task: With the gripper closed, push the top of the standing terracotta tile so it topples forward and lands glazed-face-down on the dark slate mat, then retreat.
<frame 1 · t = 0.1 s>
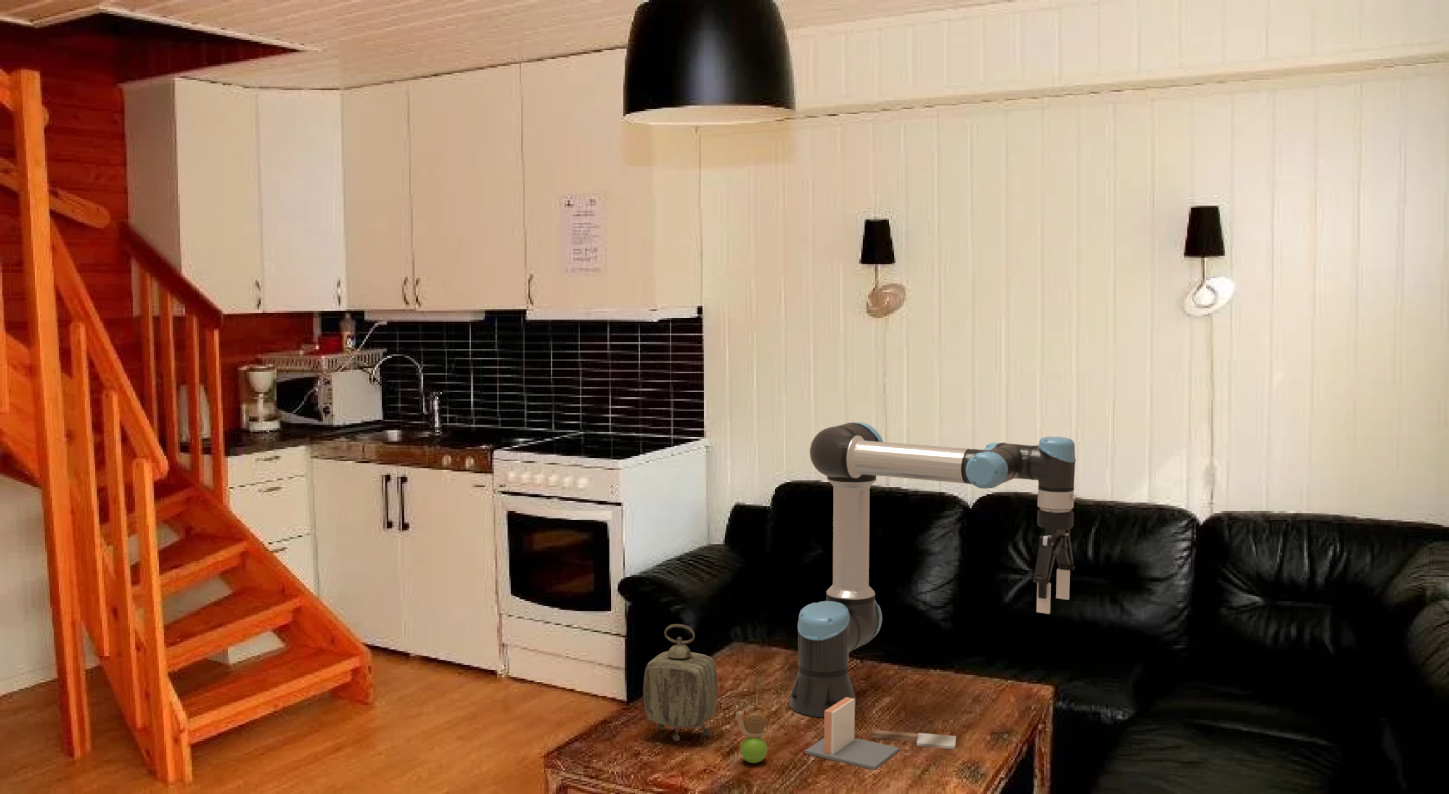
hand: (1053, 605, 262), 28 cm above the table, fingers open, 13 cm apart
tile: (839, 746, 254), point 1 cm above the table, touching mat
snail figurine: (751, 763, 247), on the table
turner: (912, 740, 259), on the table
tabletop clock: (679, 739, 260), on the table
mat: (852, 752, 252), on the table
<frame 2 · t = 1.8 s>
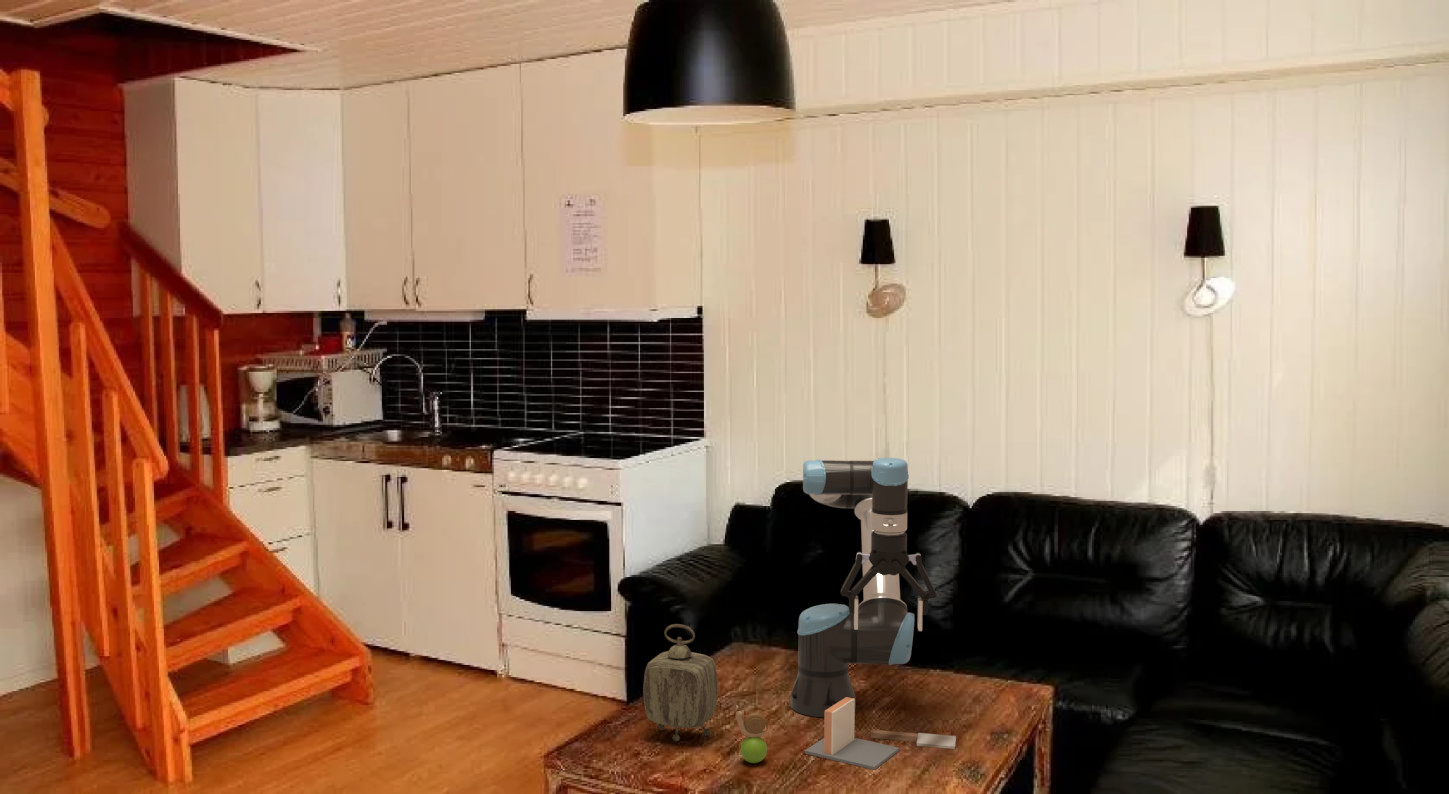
hand: (887, 628, 258), 24 cm above the table, fingers open, 13 cm apart
nothing on the table moved.
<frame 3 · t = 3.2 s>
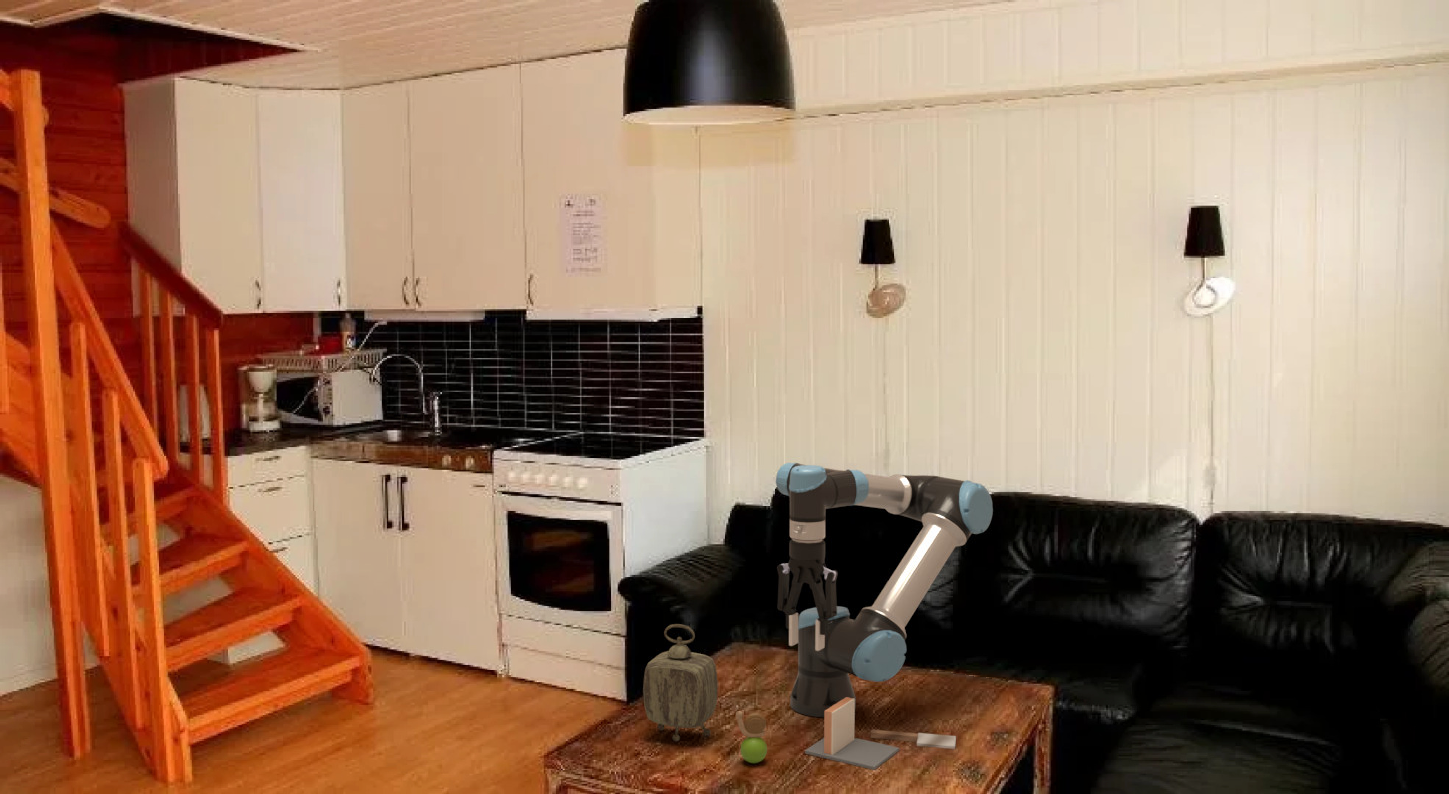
hand: (806, 646, 256), 21 cm above the table, fingers open, 6 cm apart
nothing on the table moved.
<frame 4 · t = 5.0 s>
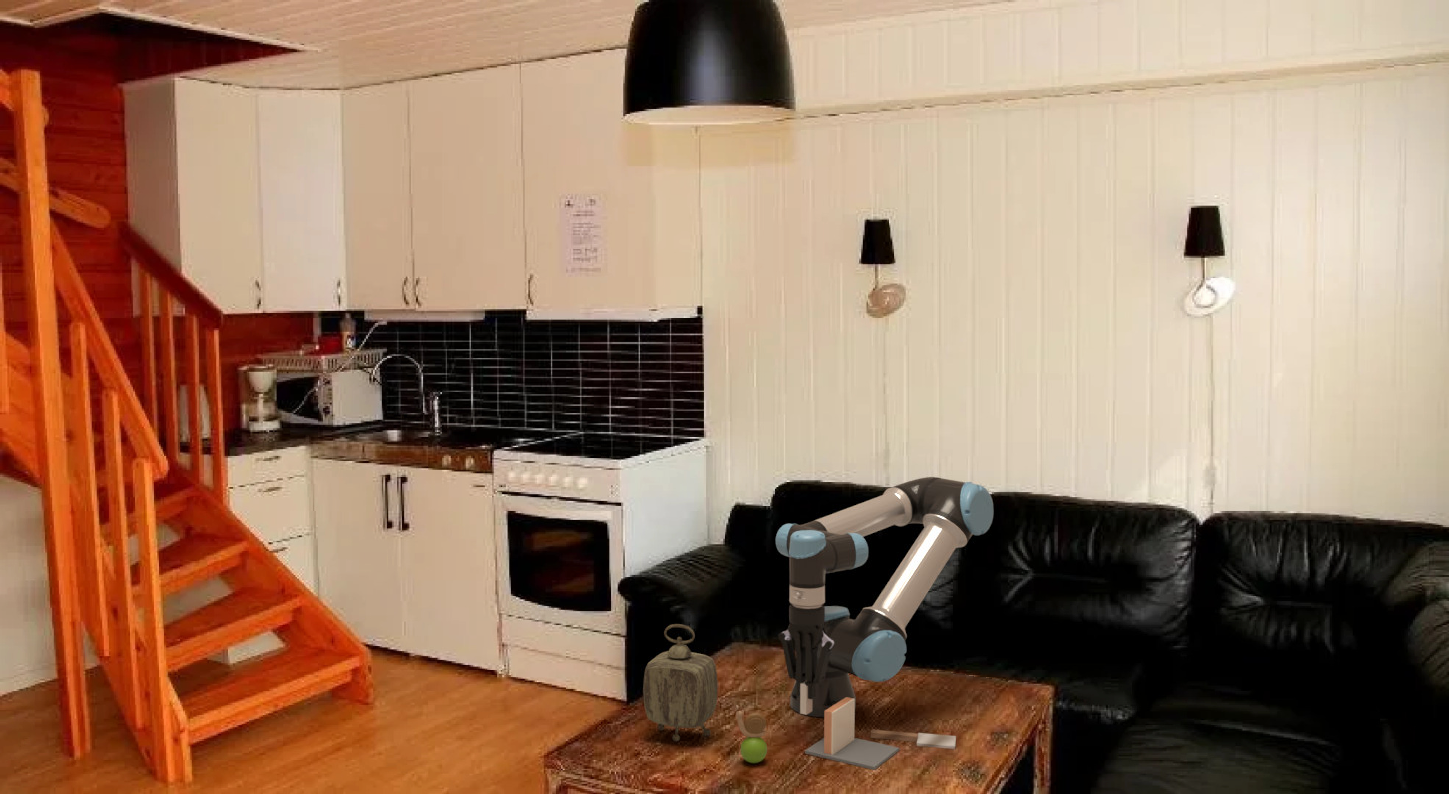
hand: (806, 712, 257), 6 cm above the table, fingers closed
nothing on the table moved.
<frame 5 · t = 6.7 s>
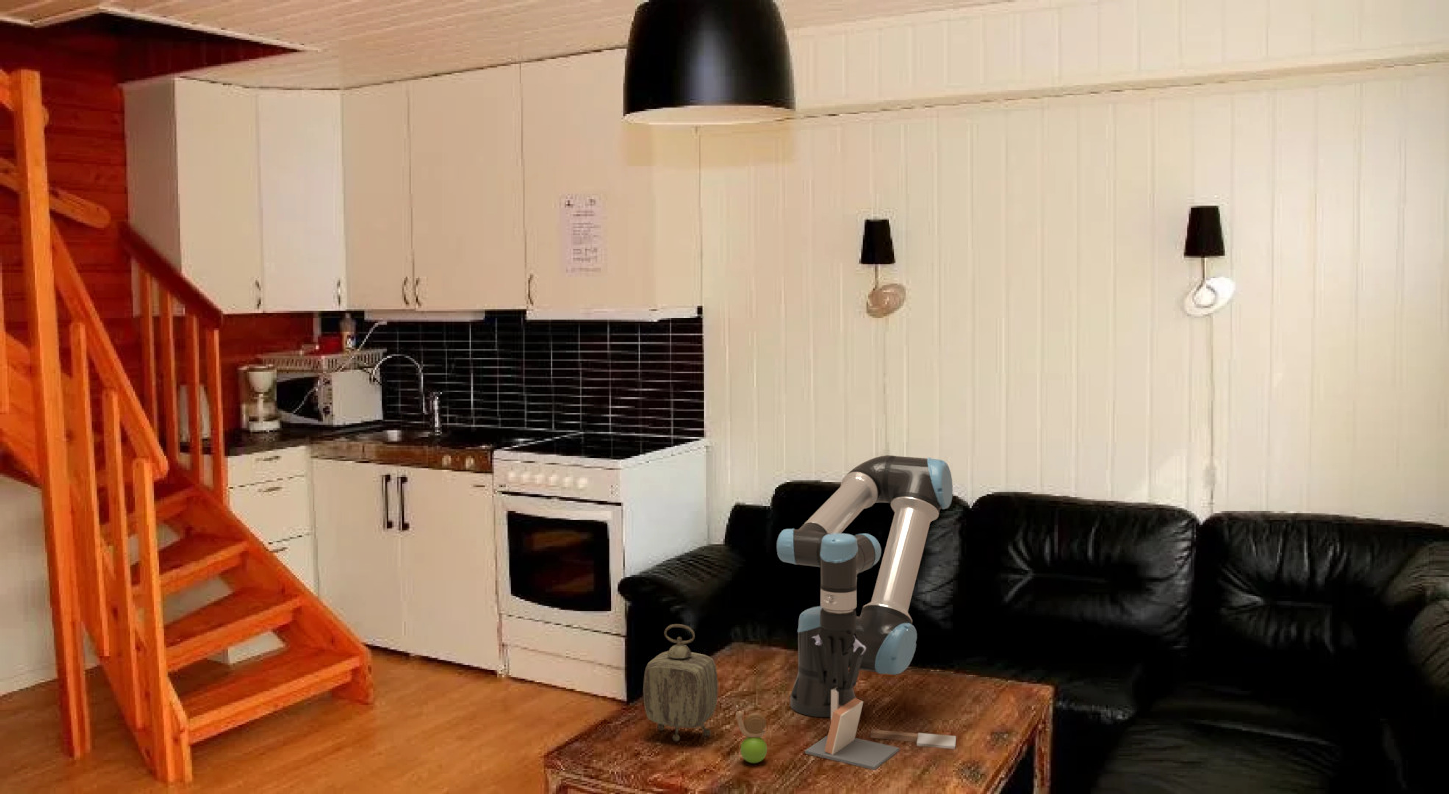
hand: (836, 718, 253), 7 cm above the table, fingers closed
tile: (839, 745, 254), point 1 cm above the table, tilted 13°, touching mat
everything else where it was.
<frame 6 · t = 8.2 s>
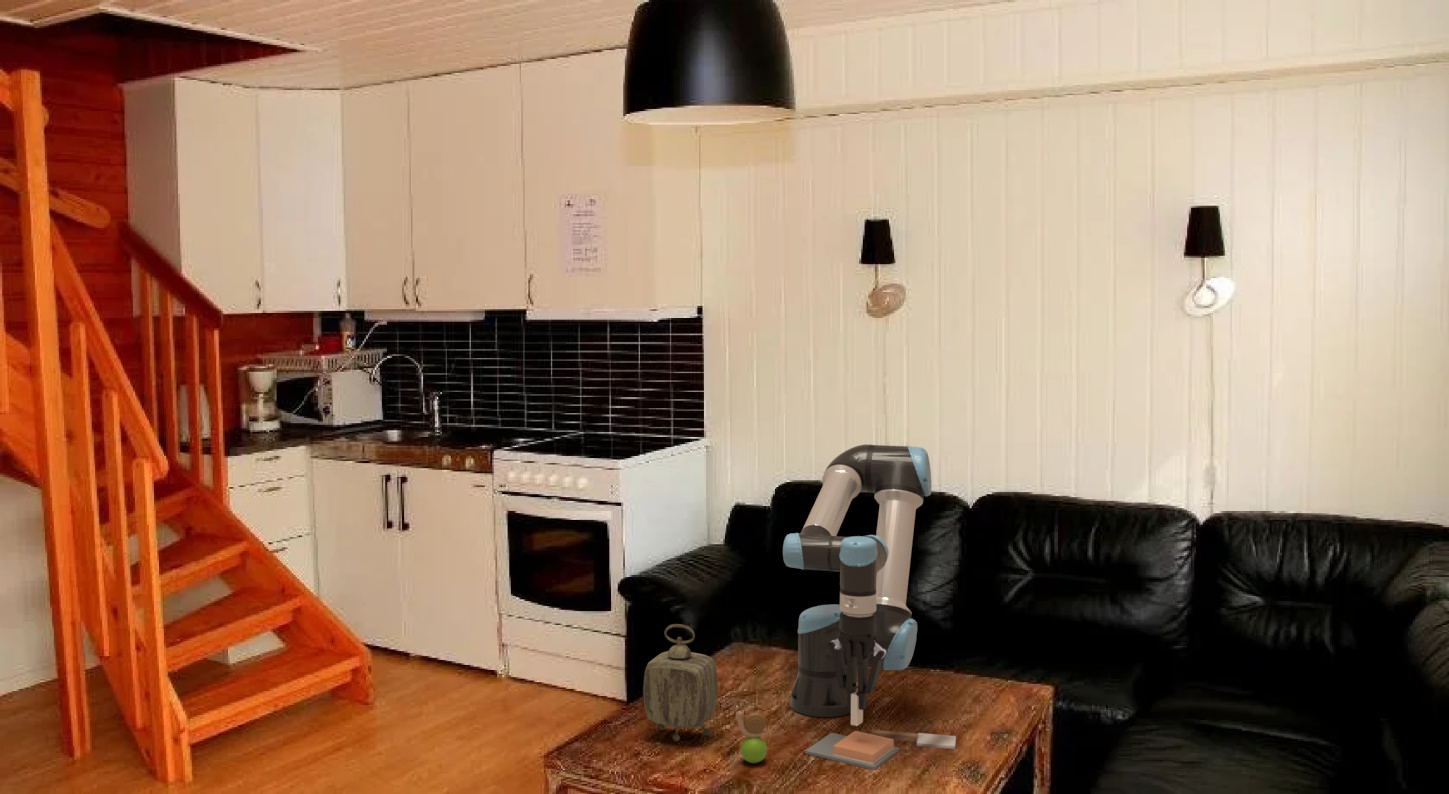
hand: (856, 723, 251), 6 cm above the table, fingers closed
tile: (844, 742, 253), point 2 cm above the table, tilted 90°, touching mat
everything else where it was.
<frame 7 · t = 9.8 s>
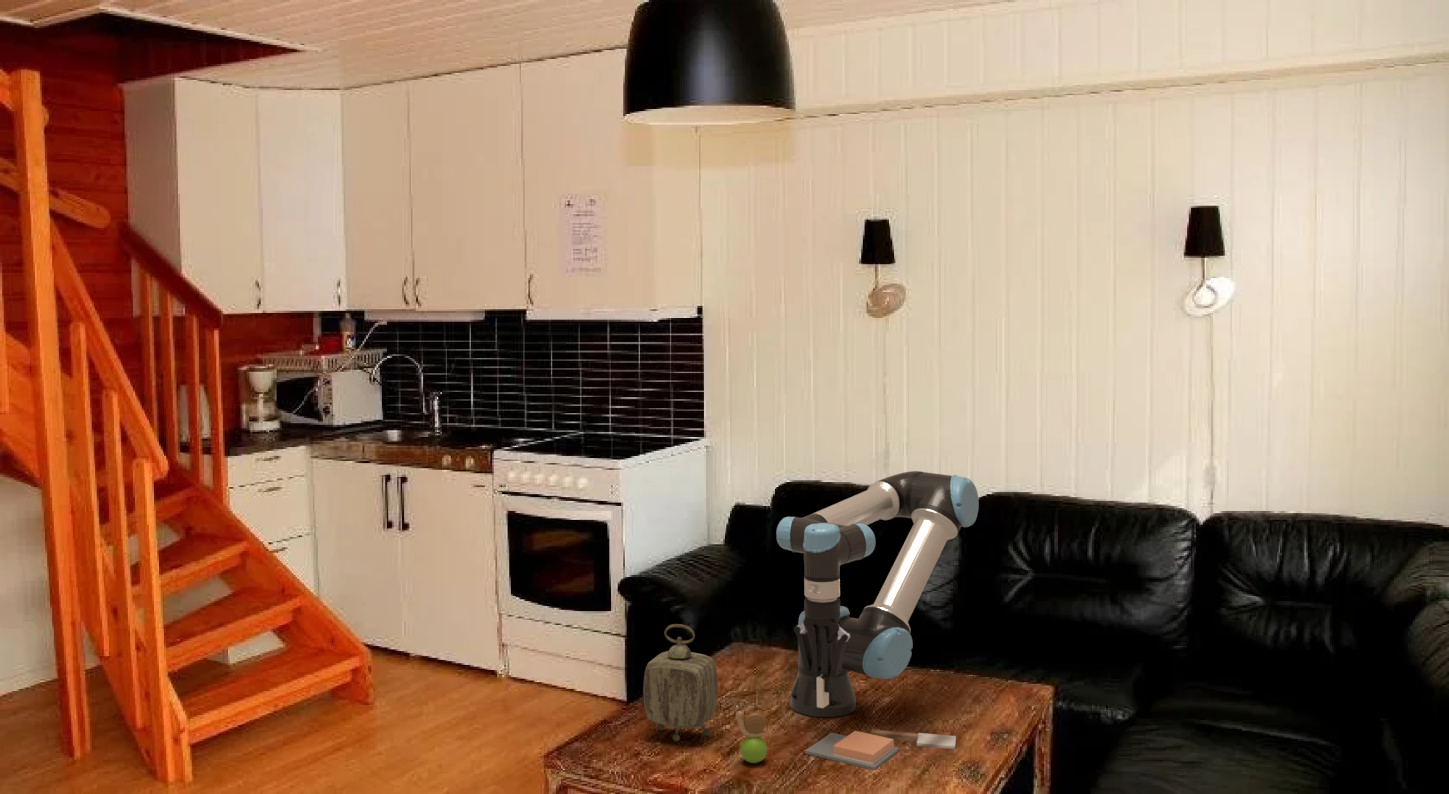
hand: (822, 705, 257), 8 cm above the table, fingers closed
nothing on the table moved.
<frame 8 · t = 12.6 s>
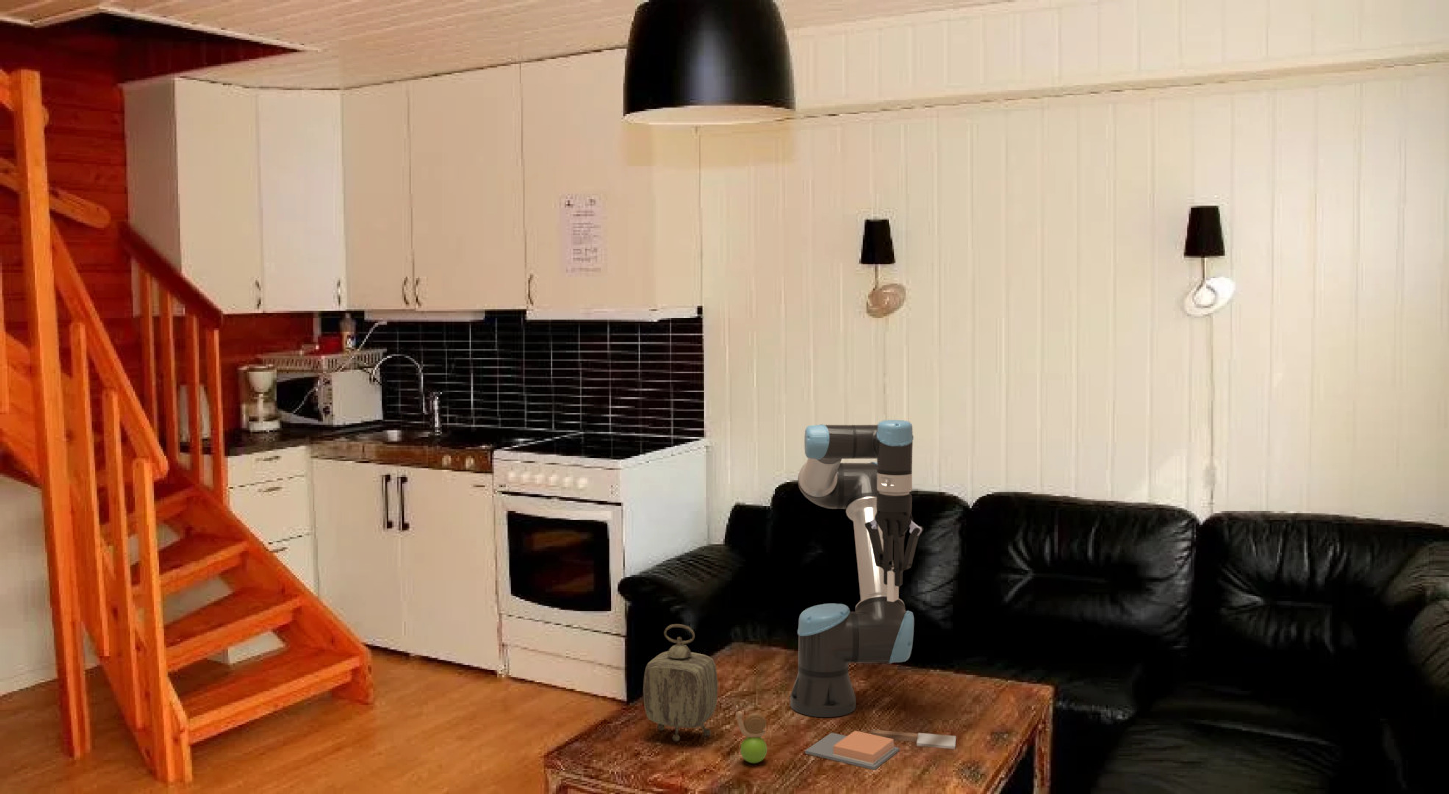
hand: (892, 600, 261), 29 cm above the table, fingers closed
nothing on the table moved.
at the end: tile tilted 90°; tile inside the target area on the mat (2.9 cm from its centre), point 1.6 cm above the mat's base; tile point 1.6 cm above the table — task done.
